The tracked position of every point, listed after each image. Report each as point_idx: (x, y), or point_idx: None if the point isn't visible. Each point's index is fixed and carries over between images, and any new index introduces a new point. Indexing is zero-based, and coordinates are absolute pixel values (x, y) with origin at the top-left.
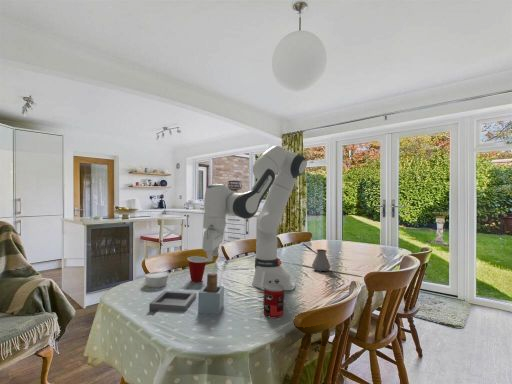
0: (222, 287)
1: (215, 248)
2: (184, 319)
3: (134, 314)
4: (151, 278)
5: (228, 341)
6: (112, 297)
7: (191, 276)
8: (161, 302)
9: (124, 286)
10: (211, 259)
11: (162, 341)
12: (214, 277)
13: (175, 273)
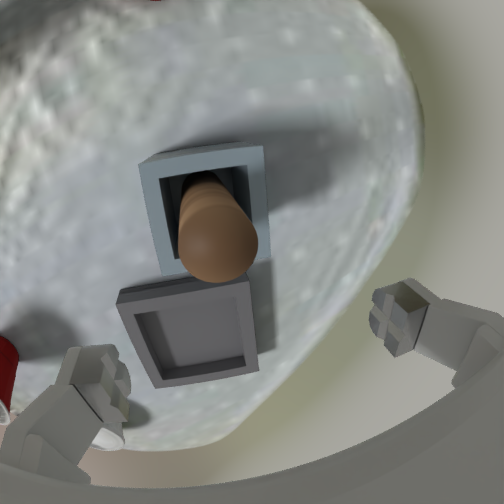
0: (158, 167)
1: (71, 439)
2: (283, 248)
3: (279, 367)
4: (122, 437)
5: (375, 83)
6: (210, 436)
7: (15, 370)
8: (207, 360)
9: (149, 447)
10: (419, 286)
11: (390, 240)
12: (243, 213)
13: (17, 404)
